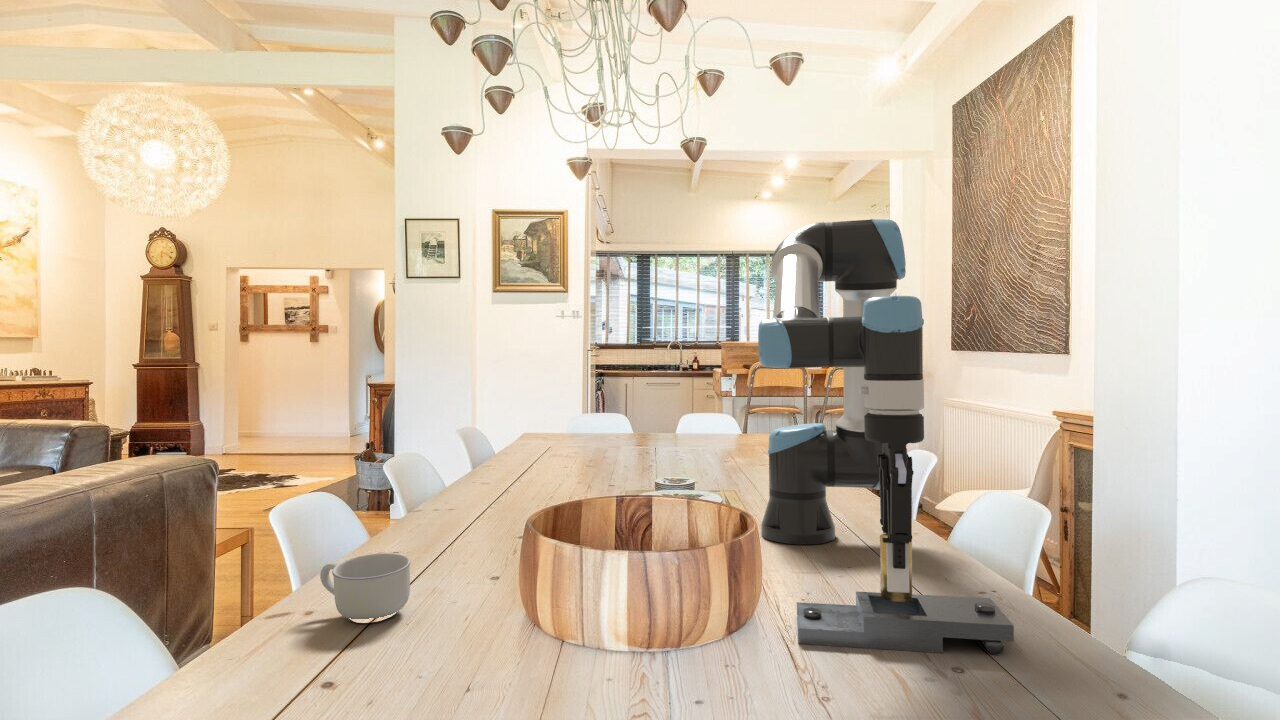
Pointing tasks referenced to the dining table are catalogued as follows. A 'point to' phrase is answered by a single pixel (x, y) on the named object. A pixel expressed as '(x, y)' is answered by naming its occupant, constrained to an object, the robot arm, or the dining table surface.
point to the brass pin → (883, 575)
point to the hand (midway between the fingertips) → (896, 586)
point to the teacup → (369, 584)
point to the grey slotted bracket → (904, 623)
